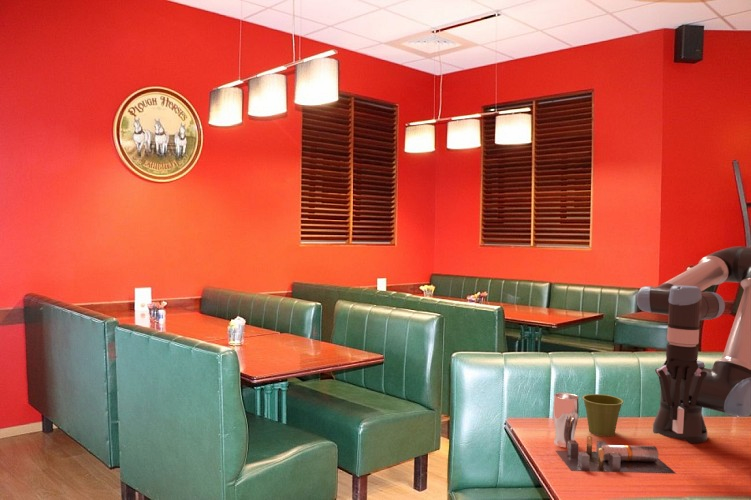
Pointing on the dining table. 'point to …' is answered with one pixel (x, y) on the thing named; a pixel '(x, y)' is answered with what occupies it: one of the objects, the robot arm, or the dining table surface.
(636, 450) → the tube
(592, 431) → the plant pot
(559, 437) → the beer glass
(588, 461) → the steam engine
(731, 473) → the dining table surface
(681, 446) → the dining table surface
